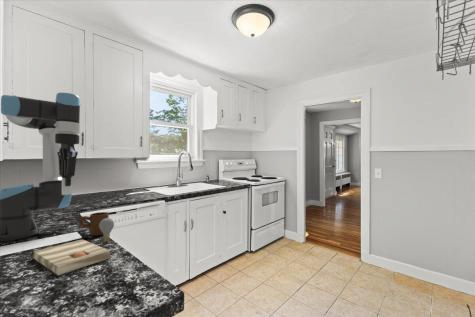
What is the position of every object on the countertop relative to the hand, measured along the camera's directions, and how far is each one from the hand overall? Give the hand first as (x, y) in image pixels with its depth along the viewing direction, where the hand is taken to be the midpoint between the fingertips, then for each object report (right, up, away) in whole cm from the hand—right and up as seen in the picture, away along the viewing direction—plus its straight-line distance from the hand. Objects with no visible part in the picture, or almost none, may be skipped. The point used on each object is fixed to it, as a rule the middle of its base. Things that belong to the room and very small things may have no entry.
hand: (66, 194), depth 88 cm
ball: (+14, -19, -13) cm, 27 cm away
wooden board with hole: (+9, -21, -9) cm, 24 cm away
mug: (-1, -22, +18) cm, 28 cm away
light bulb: (+11, -22, +7) cm, 25 cm away
